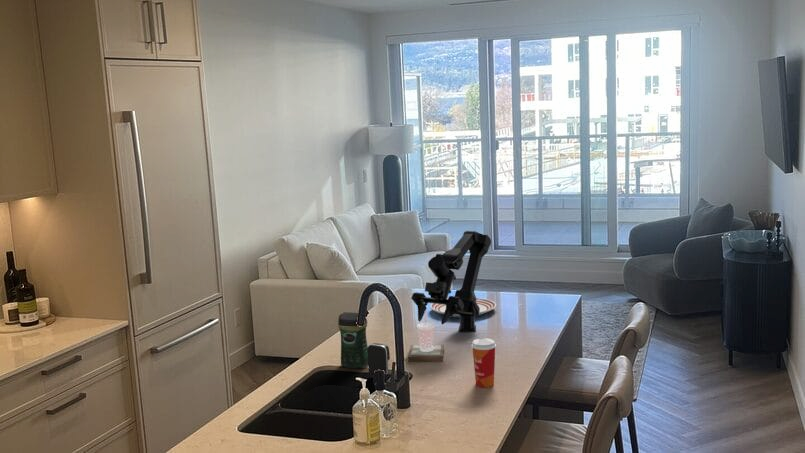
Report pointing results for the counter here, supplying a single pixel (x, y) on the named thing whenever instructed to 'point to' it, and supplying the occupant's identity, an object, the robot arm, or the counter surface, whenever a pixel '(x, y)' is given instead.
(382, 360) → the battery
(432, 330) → the beverage cup
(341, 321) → the coffee jar
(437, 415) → the counter surface
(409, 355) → the plinth
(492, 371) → the paper cup
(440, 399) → the counter surface
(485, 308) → the dinner plate
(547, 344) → the counter surface
